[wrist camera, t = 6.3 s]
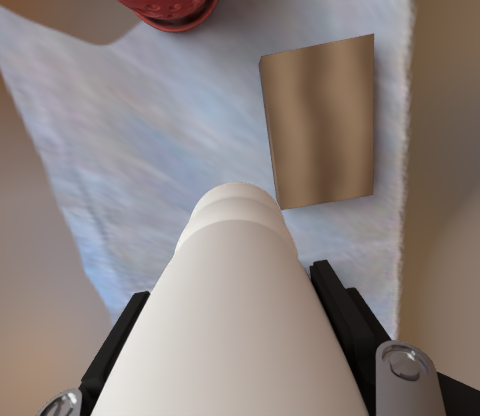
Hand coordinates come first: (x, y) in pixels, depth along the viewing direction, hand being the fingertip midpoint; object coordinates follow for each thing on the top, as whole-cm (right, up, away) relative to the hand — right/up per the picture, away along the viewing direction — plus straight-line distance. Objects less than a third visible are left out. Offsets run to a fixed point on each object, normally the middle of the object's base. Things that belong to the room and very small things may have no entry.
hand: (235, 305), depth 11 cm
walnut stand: (+10, +15, +22) cm, 28 cm away
